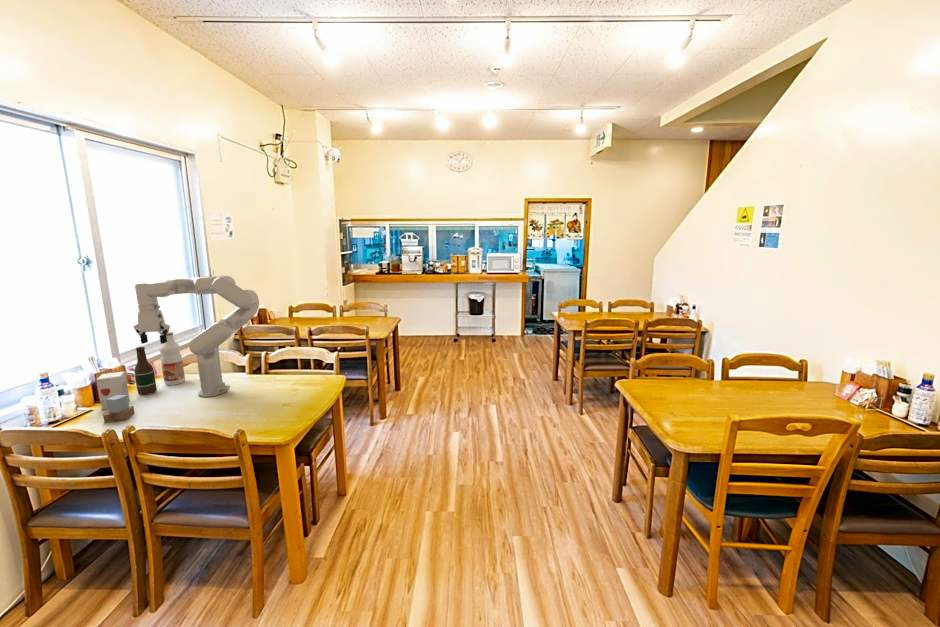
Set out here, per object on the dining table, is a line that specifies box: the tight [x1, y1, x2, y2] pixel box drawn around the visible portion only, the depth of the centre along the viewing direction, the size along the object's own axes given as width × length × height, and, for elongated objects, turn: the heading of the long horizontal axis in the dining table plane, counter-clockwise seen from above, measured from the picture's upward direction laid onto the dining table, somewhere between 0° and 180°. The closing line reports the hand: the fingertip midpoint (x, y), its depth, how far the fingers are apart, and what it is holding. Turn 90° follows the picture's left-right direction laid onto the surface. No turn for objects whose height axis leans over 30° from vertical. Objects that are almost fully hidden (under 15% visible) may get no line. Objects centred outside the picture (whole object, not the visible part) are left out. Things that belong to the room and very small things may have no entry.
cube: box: [106, 395, 130, 413], centre depth 183 cm, size 5×5×6 cm
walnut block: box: [102, 405, 136, 424], centre depth 184 cm, size 8×8×4 cm
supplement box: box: [96, 371, 131, 410], centre depth 198 cm, size 9×9×15 cm
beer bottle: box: [133, 346, 158, 396], centre depth 212 cm, size 8×8×24 cm
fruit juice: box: [159, 331, 186, 386], centre depth 227 cm, size 9×9×28 cm
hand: (154, 342), depth 201 cm, fingers open, 9 cm apart
